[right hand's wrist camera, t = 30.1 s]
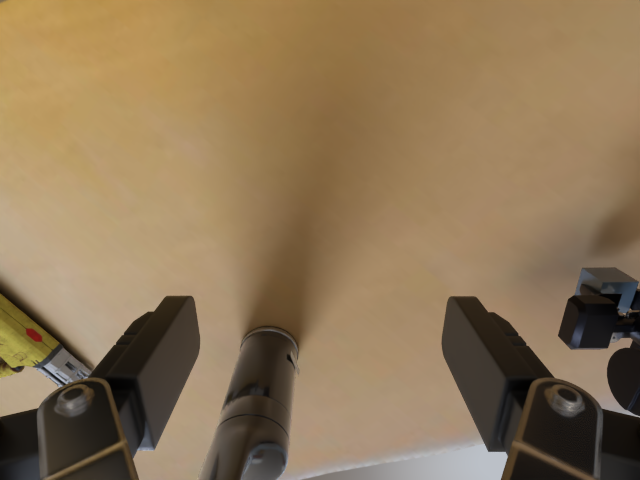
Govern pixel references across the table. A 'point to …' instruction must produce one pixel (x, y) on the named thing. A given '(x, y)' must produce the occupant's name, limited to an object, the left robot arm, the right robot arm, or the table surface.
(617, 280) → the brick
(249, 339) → the right robot arm
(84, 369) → the toy gun
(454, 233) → the table surface
